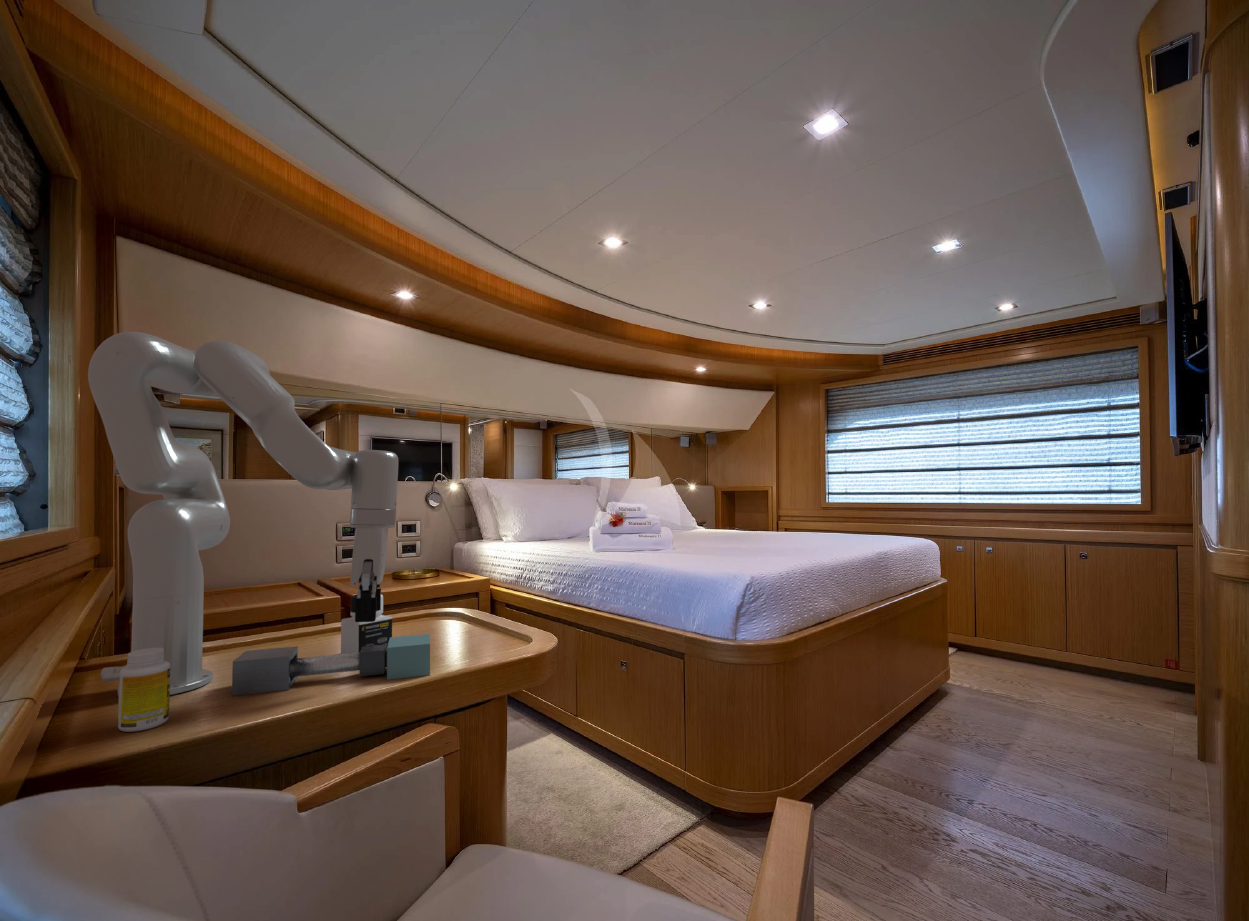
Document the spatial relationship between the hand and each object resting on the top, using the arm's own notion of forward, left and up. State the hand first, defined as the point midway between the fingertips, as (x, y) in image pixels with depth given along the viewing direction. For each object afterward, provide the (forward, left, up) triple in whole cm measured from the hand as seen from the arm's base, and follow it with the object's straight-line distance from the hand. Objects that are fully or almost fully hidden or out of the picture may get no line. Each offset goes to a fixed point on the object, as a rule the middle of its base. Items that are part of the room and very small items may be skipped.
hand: (368, 615), depth 103 cm
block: (+7, 0, -10) cm, 12 cm away
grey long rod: (-4, 0, -10) cm, 11 cm away
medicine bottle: (-2, +16, -11) cm, 19 cm away
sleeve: (-16, 0, -10) cm, 19 cm away
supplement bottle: (-28, -13, -11) cm, 32 cm away
